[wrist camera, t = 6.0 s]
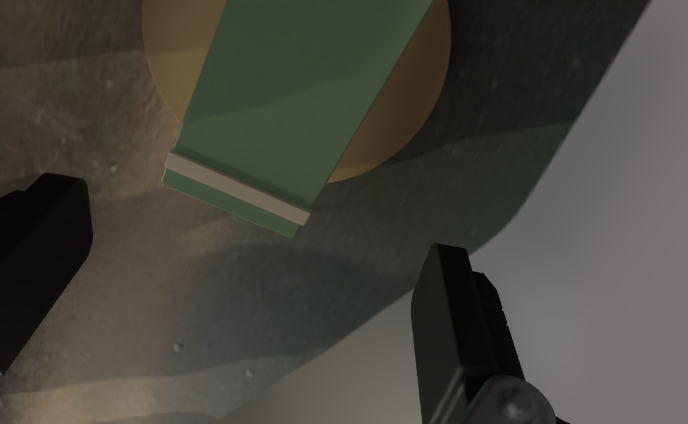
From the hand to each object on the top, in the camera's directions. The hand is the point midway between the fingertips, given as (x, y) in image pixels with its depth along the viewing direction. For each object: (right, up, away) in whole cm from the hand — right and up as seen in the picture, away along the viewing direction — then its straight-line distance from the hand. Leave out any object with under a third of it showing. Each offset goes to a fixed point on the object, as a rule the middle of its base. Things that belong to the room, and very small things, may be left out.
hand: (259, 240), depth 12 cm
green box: (0, +8, +13) cm, 15 cm away
